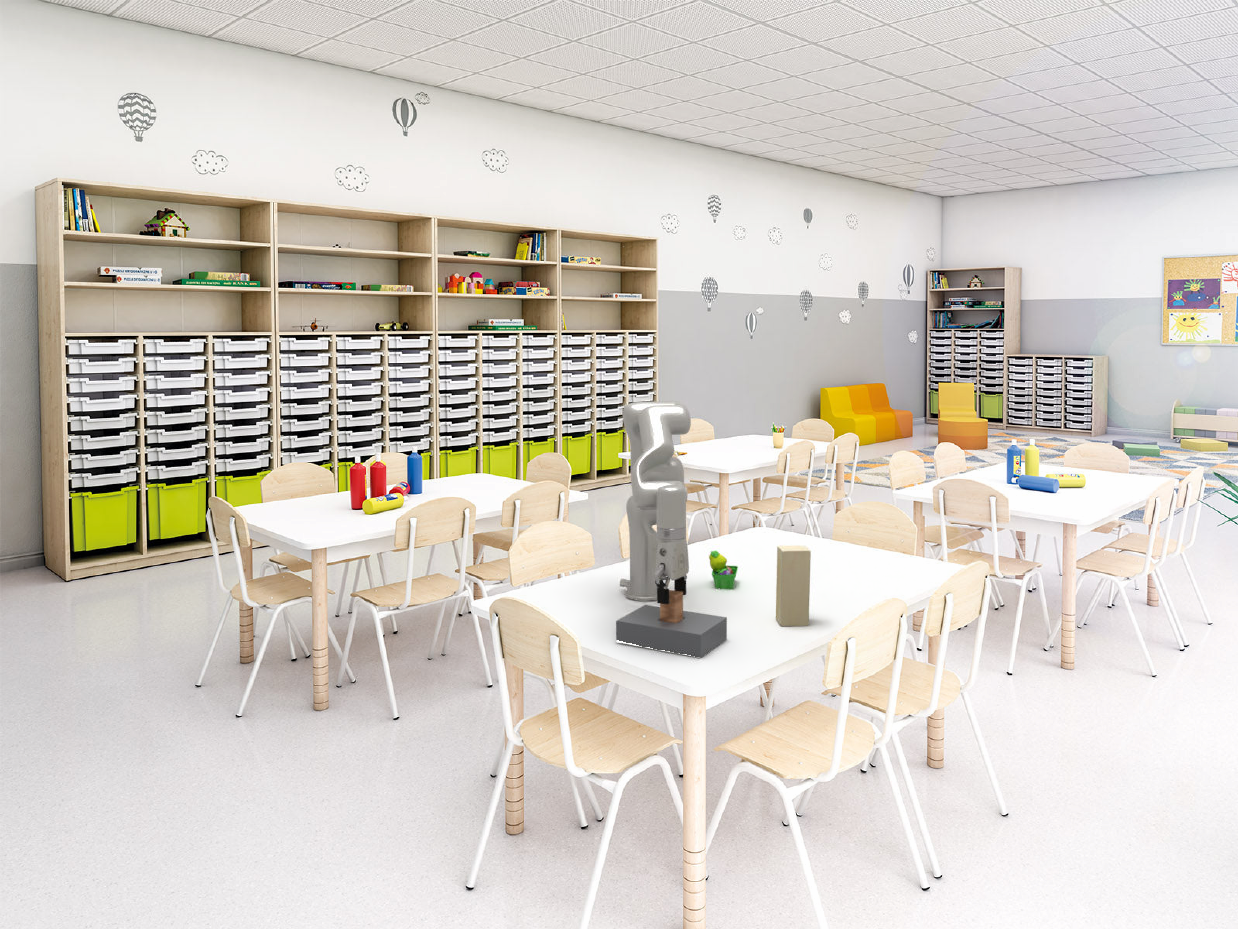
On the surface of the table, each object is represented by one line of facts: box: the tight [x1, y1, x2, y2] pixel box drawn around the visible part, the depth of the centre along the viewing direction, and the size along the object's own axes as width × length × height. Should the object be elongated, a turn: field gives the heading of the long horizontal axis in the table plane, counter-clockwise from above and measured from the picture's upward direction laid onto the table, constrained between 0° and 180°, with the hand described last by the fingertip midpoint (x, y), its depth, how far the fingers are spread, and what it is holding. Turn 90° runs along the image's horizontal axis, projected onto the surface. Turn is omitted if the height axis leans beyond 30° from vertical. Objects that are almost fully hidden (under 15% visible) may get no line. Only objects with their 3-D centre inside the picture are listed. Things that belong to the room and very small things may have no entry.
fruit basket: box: [708, 550, 739, 590], centre depth 291 cm, size 11×9×11 cm
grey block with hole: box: [615, 604, 728, 658], centre depth 238 cm, size 24×16×6 cm, turn 60°
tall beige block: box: [775, 545, 812, 627], centre depth 252 cm, size 8×7×21 cm
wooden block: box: [659, 589, 684, 623], centre depth 238 cm, size 4×4×13 cm
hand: (671, 599), depth 237 cm, fingers open, 9 cm apart
